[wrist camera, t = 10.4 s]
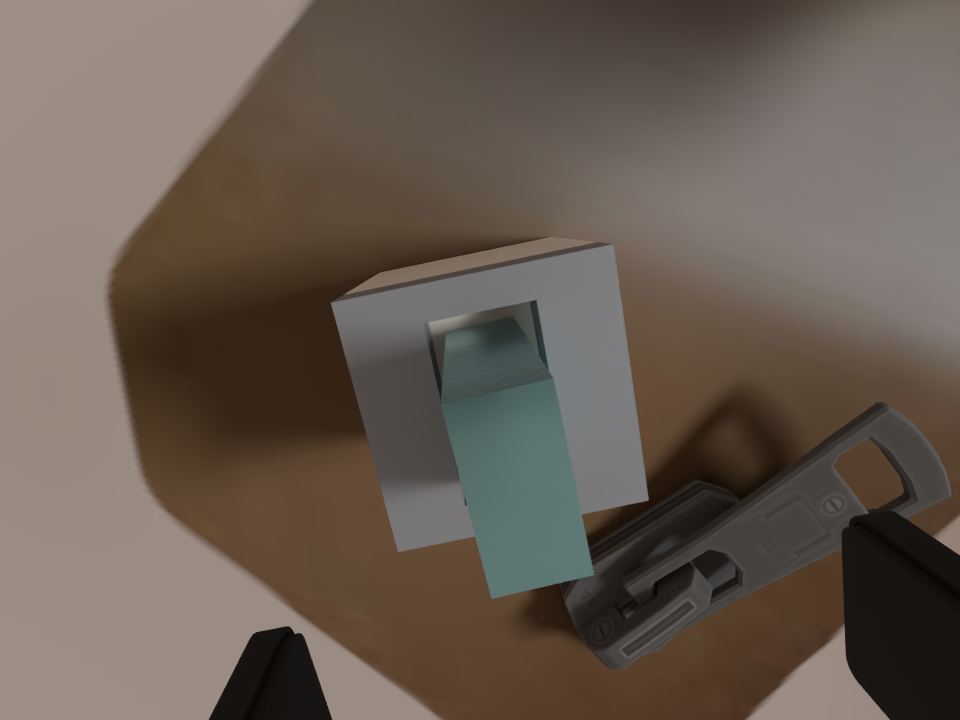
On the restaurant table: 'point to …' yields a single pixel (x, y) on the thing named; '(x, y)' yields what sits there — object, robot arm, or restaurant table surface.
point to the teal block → (512, 459)
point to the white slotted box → (420, 360)
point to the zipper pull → (736, 539)
